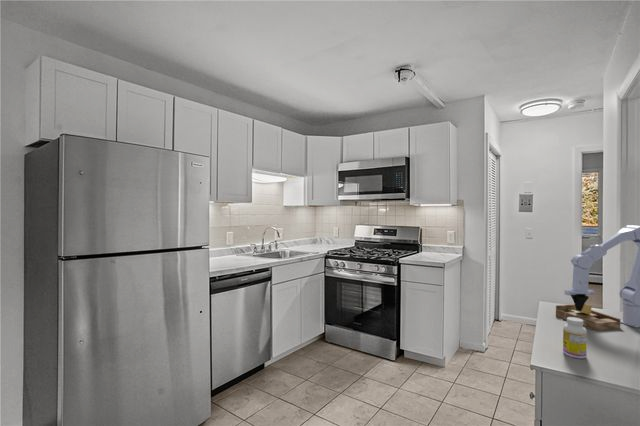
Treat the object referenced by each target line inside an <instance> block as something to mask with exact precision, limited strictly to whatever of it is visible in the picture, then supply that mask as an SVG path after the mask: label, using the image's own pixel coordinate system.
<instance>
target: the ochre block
mask: <svg viewBox="0 0 640 426" xmlns="http://www.w3.org/2000/svg"><path fill="white" fill-rule="evenodd" d="M592 307H593V306H592V305H589V304H586V303H585V304H584V305H583V308H582V310H581V311H578V310H576V308H575V311H578V312H582V313H585V314H589V315H590V313H591V310H592Z"/></svg>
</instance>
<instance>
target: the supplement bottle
mask: <svg viewBox="0 0 640 426" xmlns="http://www.w3.org/2000/svg"><path fill="white" fill-rule="evenodd" d="M562 329H563V332H562V333H563V334H562V335H563V336H562V351H563V354H564V355H566V356H568V357H570V358H574V359H581V360H582V359H586V358H587V351H588V347H587V346H588V343H587V342H588V339H587V338H588V330H587V328H586V327H585V326H583V320H582V319H579V318H575V317H567V320H566V323H565V324H564V325H563V328H562Z"/></svg>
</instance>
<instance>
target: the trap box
mask: <svg viewBox="0 0 640 426" xmlns="http://www.w3.org/2000/svg"><path fill="white" fill-rule="evenodd" d="M555 316H556V317H558V318H560V319H564V320H566V321H567V317H575V318H579V319H582V320H583V327H584V328H586V329H587V328H588V329H590V330H593V331H603V330H604V331H606V330H616V329H621V322H620V320H621V318H618V317H615V316H612V315H610V314H605V313H602V312H599V311H597V310H593V309H591V313H590V315H589V314H585V313H582V312H578V311H575V304H559V305H558V304H557V305H555Z"/></svg>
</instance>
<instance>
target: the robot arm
mask: <svg viewBox="0 0 640 426" xmlns="http://www.w3.org/2000/svg"><path fill="white" fill-rule="evenodd" d="M625 241H626V242H627V241H628V242H629V241H632V242H634V244H635V245H637V247H638V251H637V253H636V257H635V261H634V264H633V266H632V270H631V273H630V274H631V275H630V277H629V280H628V281H627V282H625V283H624V285H623V287H622V288H621V289H620V290H619V297H620V298H621V299H622V319H620V324H624V325H628V326H630V327H633V328H640V225H635V224H628V225H625V226H624V227H622V228H621V229H620V230H618V231H617V232H616V233H614V234H613V235H612V236H610V237H609V238H608V239H606V240H605V241H603V242H602V243H600V244H591V245H590V246H589V248H587V249H585V250H584V251H581V252H580V254H575V255H573V257H572V258H571V260H570V262H571V265H573V270H572V283H571V285H572V287H571V289H566V290H564V295H565V296H570V297H571V299H572V301H573V303H574V304H575V308H576V310H578V311H581V310H582V308H583V305H584V304H586V302H587V301H588V300H589V297H590V296H591V295H592V296H595V295H596V291H595V290H592V289H589V277H590V268H591V267H593V264H594V263H595V262H597V261H598V260H599V259H601V258H603V257H605V256H606V255H607V253H608V251H609V250H610V249H612V248H615V247H616V246H618V245H619V244H621V243H623V242H625Z"/></svg>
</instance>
